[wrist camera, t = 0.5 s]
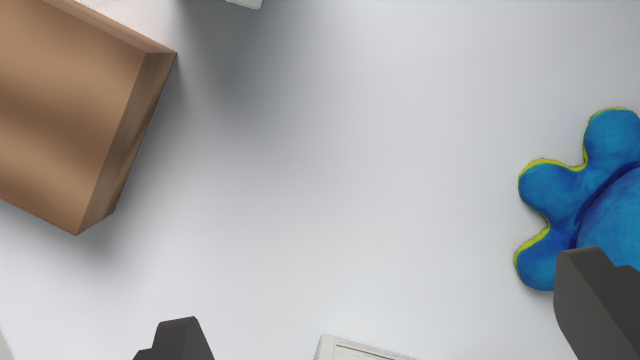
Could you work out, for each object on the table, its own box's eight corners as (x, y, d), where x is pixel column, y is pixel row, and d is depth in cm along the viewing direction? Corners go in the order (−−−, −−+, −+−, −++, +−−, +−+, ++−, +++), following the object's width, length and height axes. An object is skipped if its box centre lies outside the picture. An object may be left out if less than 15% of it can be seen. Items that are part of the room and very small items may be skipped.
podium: (5, -35, 36) (-52, -48, 31) (176, 52, 36) (146, 52, 32) (-46, 134, 39) (-104, 146, 35) (112, 213, 40) (75, 235, 35)
